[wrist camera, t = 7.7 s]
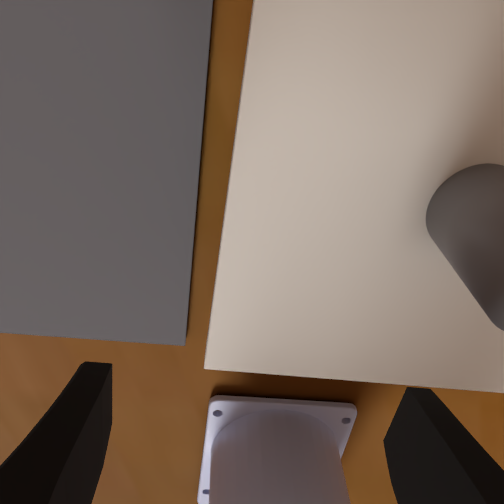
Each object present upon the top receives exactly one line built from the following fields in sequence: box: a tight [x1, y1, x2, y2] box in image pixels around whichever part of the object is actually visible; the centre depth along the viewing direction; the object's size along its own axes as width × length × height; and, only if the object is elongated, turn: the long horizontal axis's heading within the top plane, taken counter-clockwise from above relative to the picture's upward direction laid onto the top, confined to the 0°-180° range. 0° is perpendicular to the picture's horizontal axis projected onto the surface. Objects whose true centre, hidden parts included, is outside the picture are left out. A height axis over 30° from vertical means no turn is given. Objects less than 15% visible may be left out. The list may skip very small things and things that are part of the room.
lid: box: [204, 0, 504, 393], centre depth 13 cm, size 15×15×5 cm
